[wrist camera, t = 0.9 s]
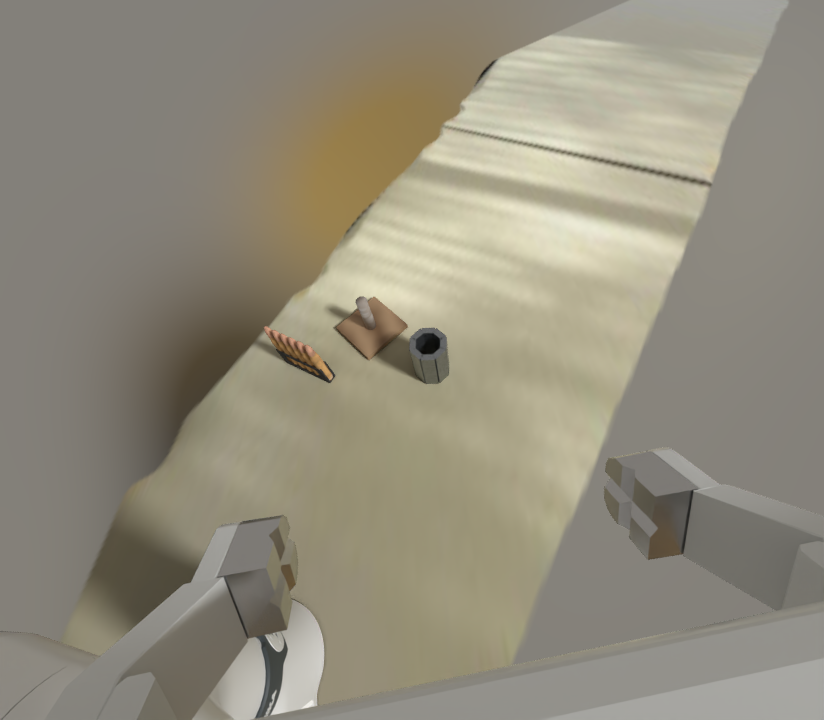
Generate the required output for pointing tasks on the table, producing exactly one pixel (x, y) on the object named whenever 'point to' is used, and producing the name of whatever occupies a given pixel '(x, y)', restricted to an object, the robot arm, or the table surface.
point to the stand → (371, 326)
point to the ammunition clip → (300, 355)
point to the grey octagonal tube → (430, 355)
